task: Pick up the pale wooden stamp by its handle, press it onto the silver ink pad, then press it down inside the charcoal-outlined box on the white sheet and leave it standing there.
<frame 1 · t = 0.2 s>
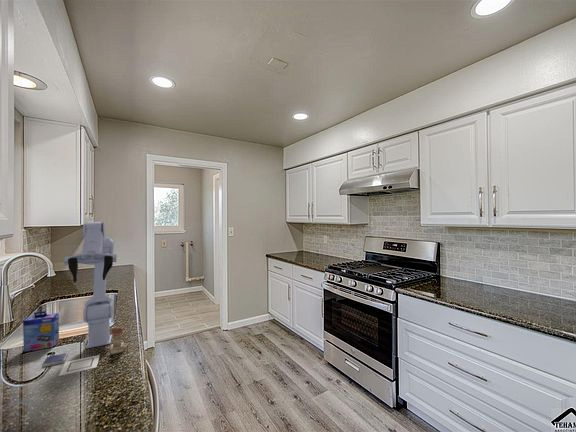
hand: (89, 279, 90), 31 cm above the countertop, tool tilted 45°, fingers open, 7 cm apart
paper: (80, 365, 96), on the countertop
ink pad: (55, 361, 99), on the countertop
ink cartridge box: (41, 347, 111), on the countertop
stamp: (117, 351, 105), on the countertop
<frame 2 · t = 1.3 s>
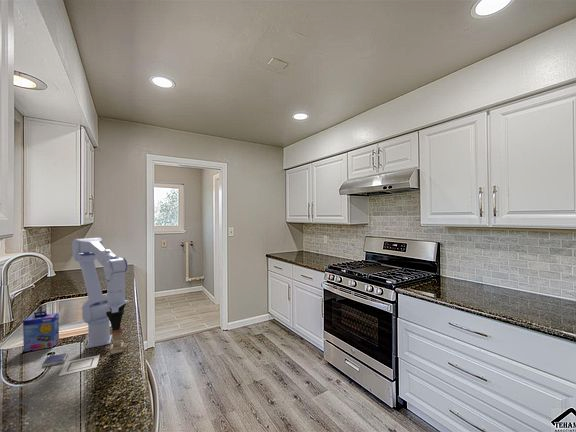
hand: (116, 326, 105), 9 cm above the countertop, tool pointing down, fingers open, 7 cm apart
nothing on the countertop moved.
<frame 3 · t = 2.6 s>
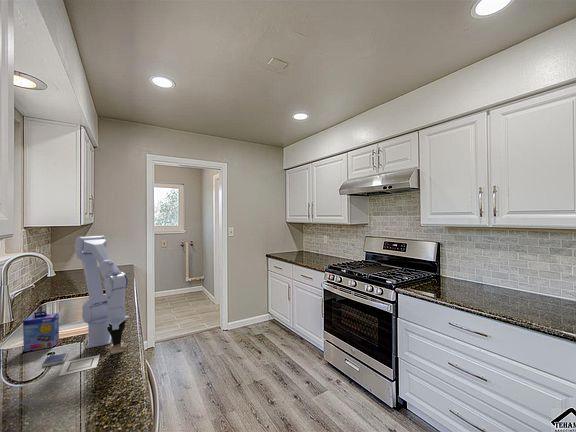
hand: (117, 342, 105), 3 cm above the countertop, tool pointing down, fingers closed on stamp, 3 cm apart
stamp: (117, 351, 105), on the countertop, touching gripper
everything else where it was.
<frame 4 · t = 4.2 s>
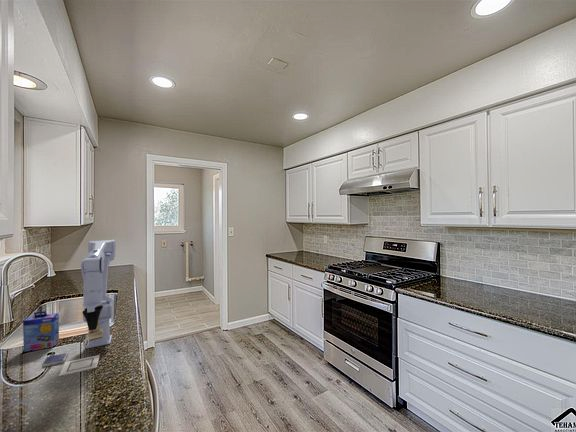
hand: (93, 328, 102), 10 cm above the countertop, tool pointing down, fingers closed on stamp, 3 cm apart
stamp: (96, 338, 102), point 7 cm above the countertop, tilted 8°, touching gripper
everything else where it was.
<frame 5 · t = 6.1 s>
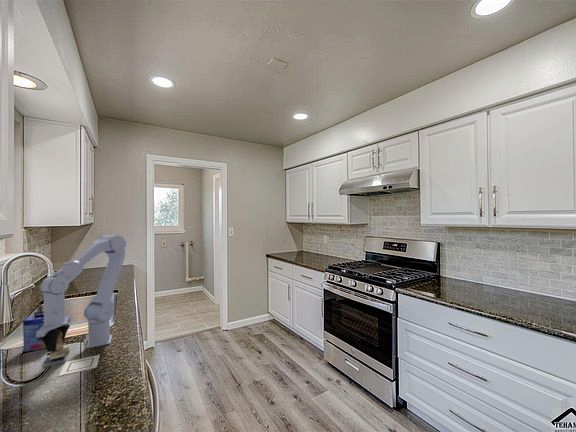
hand: (55, 349, 99), 4 cm above the countertop, tool pointing down, fingers closed on stamp, 3 cm apart
stamp: (60, 356, 99), point 2 cm above the countertop, tilted 11°, touching gripper, ink pad
everything else where it was.
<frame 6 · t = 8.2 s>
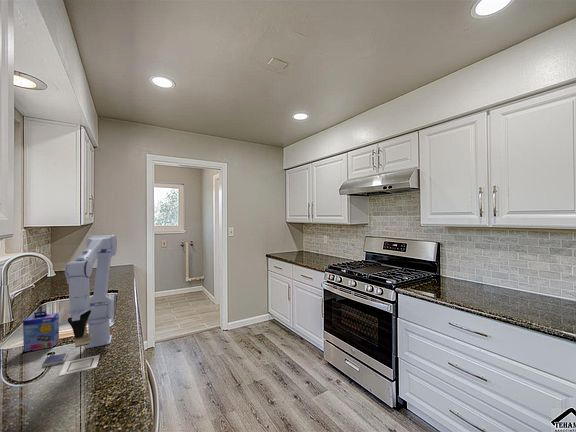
hand: (80, 335, 96), 10 cm above the countertop, tool pointing down, fingers closed on stamp, 3 cm apart
stamp: (83, 343, 97), point 7 cm above the countertop, tilted 6°, touching gripper
everything else where it was.
when the fingers open (3 cm above the countertop, at t = 10.0 s): stamp stays where it is, resting on paper.
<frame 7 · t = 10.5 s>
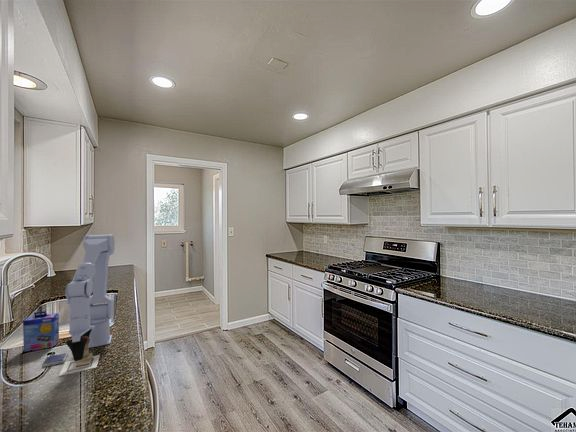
hand: (80, 355, 96), 3 cm above the countertop, tool pointing down, fingers open, 7 cm apart
stamp: (84, 363, 97), resting on paper
everything else where it was.
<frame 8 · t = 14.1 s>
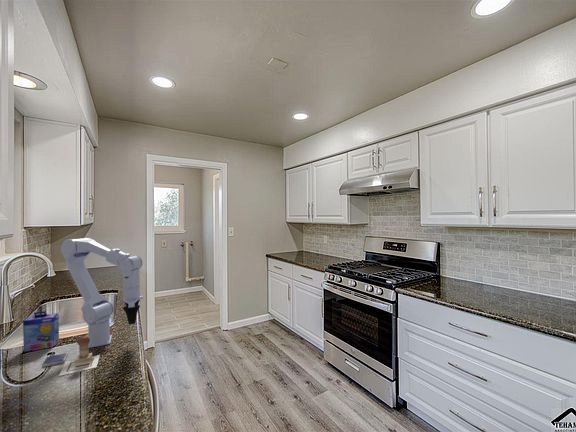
hand: (132, 320, 111), 9 cm above the countertop, tool pointing down, fingers open, 7 cm apart
nothing on the countertop moved.
at the end: stamp 1.0 cm off-centre on the paper, point 0.2 cm above the paper's base; stamp tilted 0°; the gripper is holding nothing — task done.
